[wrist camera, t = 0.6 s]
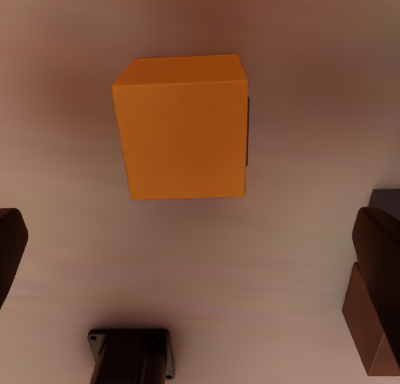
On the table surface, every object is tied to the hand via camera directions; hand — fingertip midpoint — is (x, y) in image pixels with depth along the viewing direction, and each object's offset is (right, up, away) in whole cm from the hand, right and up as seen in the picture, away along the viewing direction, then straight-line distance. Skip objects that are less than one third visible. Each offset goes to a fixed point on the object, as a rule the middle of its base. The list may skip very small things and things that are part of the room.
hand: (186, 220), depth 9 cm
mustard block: (0, +5, +9) cm, 10 cm away
